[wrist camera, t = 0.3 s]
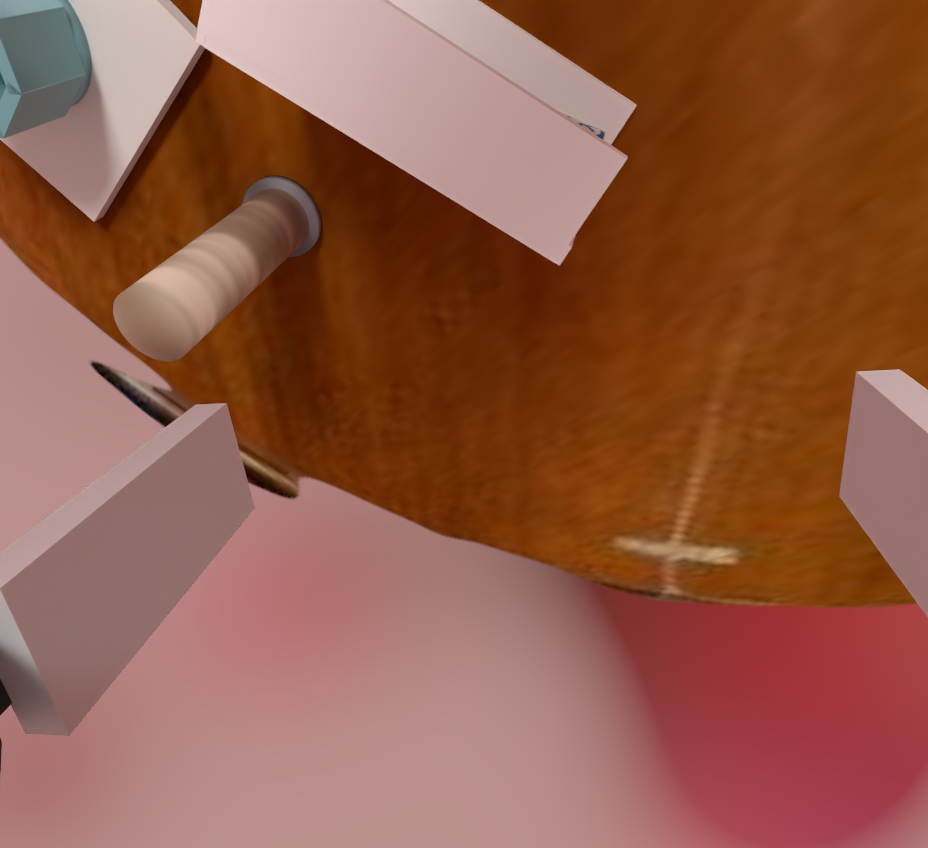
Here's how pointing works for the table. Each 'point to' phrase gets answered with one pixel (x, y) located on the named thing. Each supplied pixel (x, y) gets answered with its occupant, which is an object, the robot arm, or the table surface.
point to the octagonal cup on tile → (89, 87)
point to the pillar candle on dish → (217, 269)
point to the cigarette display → (441, 101)
